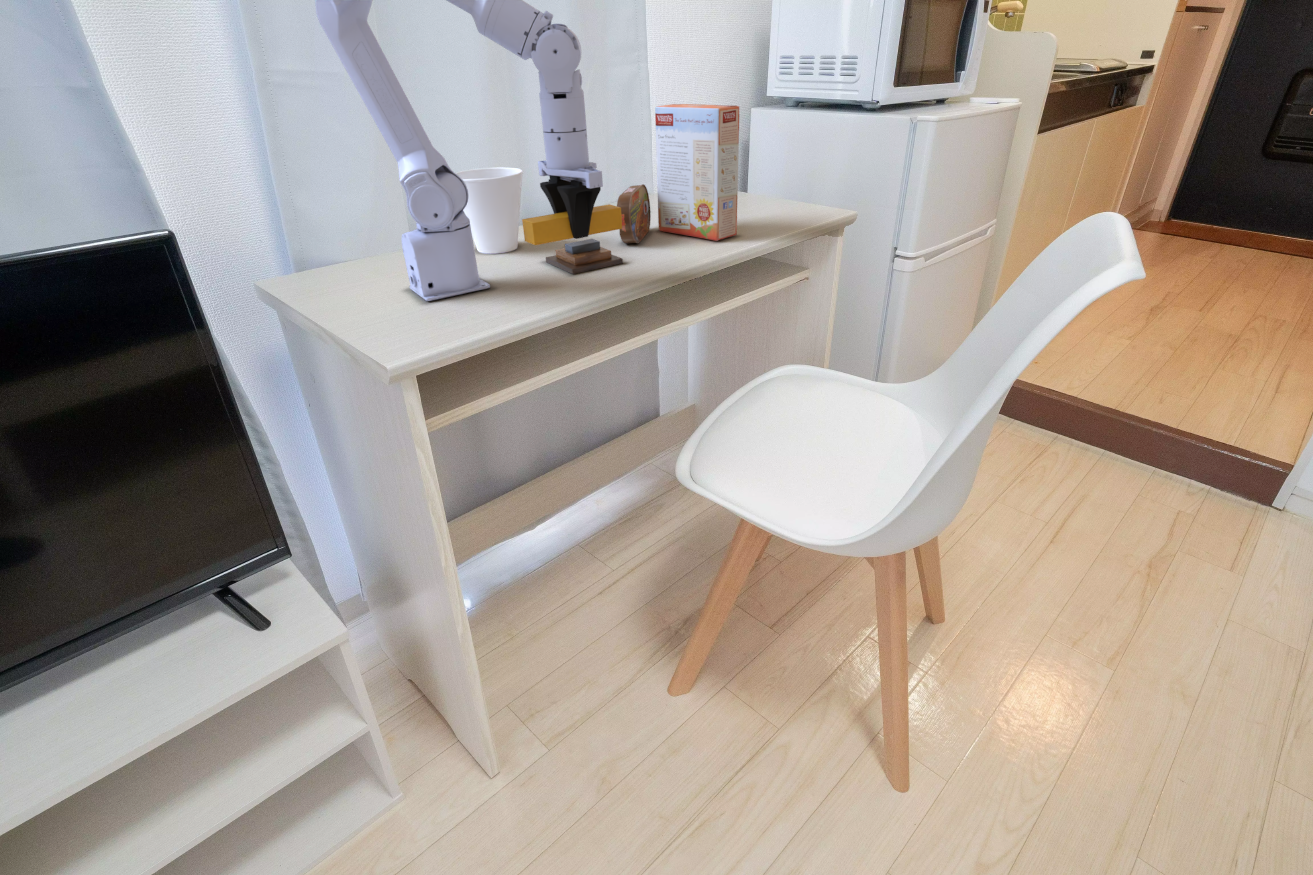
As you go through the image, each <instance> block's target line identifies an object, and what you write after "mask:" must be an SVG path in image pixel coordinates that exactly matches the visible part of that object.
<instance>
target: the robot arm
mask: <svg viewBox="0 0 1313 875" xmlns="http://www.w3.org/2000/svg"><path fill="white" fill-rule="evenodd" d="M445 1H446V2H448V3H450V4H452V5H453V6H455V7H456V8H458V9H460V10H463V11H464V12H466V13H468V14H469V15H471V17H472V19H473V22H474V24H475V26H476V30H477V32H478V33H479V34H481V36H484V37H486V38H487V39H489V40H490V41H492V42H494V43H496V44H497V45H499V46H501V47H502V48H504V49H506V50H507V51H509V52H510V53H512V54H514V55H516V56H517V57H518V58H520V59H522V60H524V61H528V60H529V59H532V62H533V65H534V66H535V68H536V69H537V71H538V81H539V93H538V97H539V105H540V114H541V115H540V116H541V124H542V125H541V126H542V135H543V145H544V154H545V160H538V161H537V166H538V175H539V176H540V177H549V179H548V180H547V181H542V182H539V188H540V189H541V191H542V192H543V194H544V195H545V196H546V198H547V200H548V202H549V205H550V207H551V210H552V212H553V214H556V213H562V212H567V213H568V218H569V223H570V228H571V232H572V235H573V238H572V239H574V240H575V239H576V240H578V239H583V238H589V236H590V235H589V229H590V222H591V216H592V211H593V207H595V204H596V202H597V198H598V195H599V194H600V193H601V188H603V187H604V183H603V181H604V180H603V171H602V170H598V169H597V163H596V162H593V161H590V156H589V142H588V131H587V118H586V117H587V116H586V105H585V92H584V89H583V88H582V86H583V77H582V76H583V75H582V73H581V69H578V67H579V65H580V63H581V61H582V60H581V59H582V45H581V42H580V39H579V38H578V36H577V35H576V33H575V32H574V31H573V30H572V29H570V28H569V27H568V25H566V24H565V23H553V22H552V21H553V18H554V14H553V13H552V12H549V11H548V10H545V11H544V12H543V11H540V10H539V9H537V8H535V7H534V6H532V5H531V4H529V3H528V2H526V1H525V0H445ZM314 3H315V5H314V6H315V13H316V14H315V15H316V17H317V20H318V23H319V25H320V26H321V28H322V30H323V32H324V33H325V35H326V38H327V39H328V40H329V43H330V45H331V46H332V48H333V50H334V51H335V53H336V55H337V57H338V58H339V60H340V62H341V64H342V66H343V67H344V69H345V71H346V73H347V75H348V76H349V79H350V80H351V82H352V83H353V86H354V87H355V89H356V92H357V93H358V94H359V96H360V98H361V100H362V101H363V104H364V105H365V107H366V109H367V111H368V113H369V114H370V116H371V118H372V119H373V121H374V123H375V125H376V127H377V129H378V131H379V132H380V134H381V136H382V137H383V140H384V141H385V143H386V145H387V147H388V148H389V150H390V151H391V153H392V155H393V157H394V159H395V161H396V162H397V168H398V180H399V183H400V185H401V187H402V189H403V190H404V193H405V197H406V206H407V210H408V213H409V215H410V216H411V218H412V219H413V220H414V221H415V225H416V228H415V229H414V230H411V231H407V232H404V233H402V234H401V248H402V253H403V257H404V262H405V267H406V271H407V277H408V281H409V285H408V286H409V289H410V290H411V291H413V292H414V294H416V295H417V296H419V297H421V298H422V300H425V301H426V302H431V301H435V300H440V299H445V298H450V297H454V296H459V295H463V294H467V293H468V294H469V293H472V292H477V291H483V290H486V289H490V288H491V284H490V283H489V282H487V281H486V280H485V281H484V280H483V279H481V278H480V275H479V270H478V264H477V257H476V256H477V255H476V253H475V252H476V251H475V250H476V249H475V243H474V239H473V236H472V232H471V226H470V220H469V218H468V217H467V216H466V215H465V213H464V211H463V210H464V208H465V207H466V205H467V203H468V189H467V186H466V184H465V182H464V181H463V180H462V179H461V178H460V177H459V176H458V175H457V174H456V172H454V170H452V168H451V167H450V166H449V165H448V161H447V160H446V159H445V157H444V155H442V154H441V153H440V152H439V151H438V150H437V149H436V148H435V147H434V146H433V144H432V142H431V140H430V138H429V137H428V136H429V135H428V134H427V132H426V131H425V129H424V127H423V124H422V122H421V120H420V119H419V118H418V116H417V114H416V112H415V110H414V108H413V106H412V104H411V102H410V100H409V98H408V97H407V95H406V93H405V91H404V89H403V87H402V85H401V83H400V81H399V80H398V78H397V76H396V74H395V72H394V70H393V68H392V66H391V64H390V63H389V60H388V59H387V57H386V55H385V53H384V50H382V47H381V45H380V43H379V41H378V40H377V38H376V36H375V33H374V32H373V30H372V28H371V26H370V25H369V23H368V18H369V14H370V11H371V9H372V8H371V7H372V4H373V0H314Z"/></svg>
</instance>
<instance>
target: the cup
mask: <svg viewBox="0 0 1313 875" xmlns="http://www.w3.org/2000/svg"><path fill="white" fill-rule="evenodd" d="M455 173H456V174H457V175H458V176H459V177H460V178H461V179H462V180H463V181H464V182H465V184H466V186H467V189H468V203H467V205H466V207H465V208H464V210H463V211H464V213H465V215H466V216H467V217H468V218H469V220H470V226H471V232H472V238H473V243H474V246H475V248H476V249H477V252H479V253H480V254H487V255H492V254H496V255H497V254H504V253H510V252H513V251H515V250H517V249H518V245H519V243H518V242H519V230H520V228H519V227H520V214H521V201H522V200H521V198H522V184H523V174H524V171H523V169H521V168H516V167H507V166H506V167H505V166H498V167H497V166H495V167H479V168H471V169H465V170H460V171H456V172H455Z"/></svg>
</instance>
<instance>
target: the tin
mask: <svg viewBox="0 0 1313 875" xmlns="http://www.w3.org/2000/svg"><path fill="white" fill-rule="evenodd" d="M616 201H617V202H616V206H617V207H621V217H622V229H618V230H619V231H618V234H619V237H620V240H621V241H622V243H624V244H640V243H641V241H642V240H643V239H644V238H645V236H646V235H647V234H648V233H649V232H650V228H651V219H652V218H651V201H650V196H649V191H648V188H647V186H646V185H645V184H639V185H638V184H637V185H636V184H635V185H631V186H629V187H628V188H627V189H626V190H624V191H623V192H622V193H621V194H620V195H619V196H618V199H617V200H616Z"/></svg>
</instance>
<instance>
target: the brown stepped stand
mask: <svg viewBox="0 0 1313 875" xmlns="http://www.w3.org/2000/svg"><path fill="white" fill-rule="evenodd" d="M545 262H546V263H547V264H550V265H551V266H555V268H559V269H560V270H563V271H565V272H567V273H569V274H571V275H576V274H580V273H585V272H589V271H594V270H598V269H603V268H608V267H612V266H613V267H614V266H617V265H622V264H624V260H623V258H622V257H619V256H617V255H614V254H612V250H611V249H608V248H605V247H603V246H601V241H600V240H597V239H595V238H588V239H583V240H578V241H573V242H568V243H564V247H563V248H557V249H555V255H554V254H553V255H550V256H546V257H545Z"/></svg>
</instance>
